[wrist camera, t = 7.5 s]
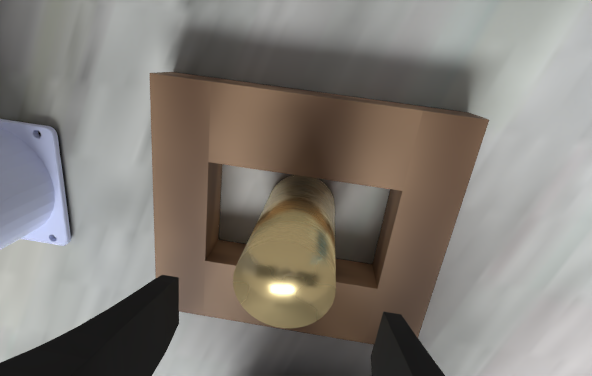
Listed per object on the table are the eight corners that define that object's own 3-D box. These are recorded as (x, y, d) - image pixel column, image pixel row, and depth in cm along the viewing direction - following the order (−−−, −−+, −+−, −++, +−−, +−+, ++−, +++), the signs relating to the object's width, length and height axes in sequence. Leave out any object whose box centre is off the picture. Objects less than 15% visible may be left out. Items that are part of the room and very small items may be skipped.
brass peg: (269, 232, 21) (234, 323, 14) (269, 172, 20) (230, 237, 12) (332, 237, 21) (332, 332, 13) (336, 176, 20) (339, 245, 12)
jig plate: (174, 283, 23) (156, 307, 21) (172, 72, 18) (149, 73, 16) (404, 321, 23) (413, 351, 20) (468, 112, 18) (489, 119, 15)
